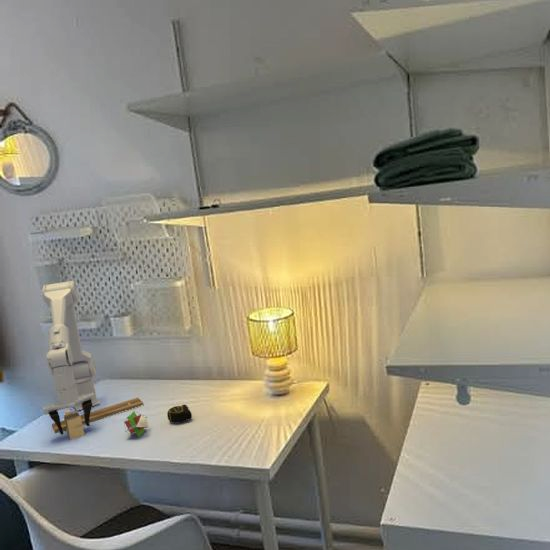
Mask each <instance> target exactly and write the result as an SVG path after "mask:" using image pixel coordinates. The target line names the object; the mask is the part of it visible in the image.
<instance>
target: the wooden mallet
mask: <svg viewBox="0 0 550 550" xmlns="http://www.w3.org/2000/svg"><path fill="white" fill-rule="evenodd" d="M80 415H81V414H80V413H79V412H78V411H77V410H74V411H72V412H71V410H70V409H67V410H64V414H63V415H62V416H63V420H65V425H66V430H65V431H66V433H67V435H68V437H69V439H70V440H75V439H78V438H81V437H84V436H85V430H84V424H83V425H82V421H81V417H80Z"/></svg>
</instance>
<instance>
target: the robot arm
mask: <svg viewBox="0 0 550 550" xmlns="http://www.w3.org/2000/svg"><path fill="white" fill-rule="evenodd" d="M41 293H42V298H43V300H44V303H45V304H46V305H47V307H48V308H50V312H51V320H52V327H51V328H50V329H49V331H48V340H49V341H48V342H49V344H48V350H49V351H46V363H47V366H48V368H49V371H50V374H51V376H52V378H53V382H54V387H55V391H56V396H57V401H56V402H54V403H51V404H49V405H45V406H43V407H42V409H43V413H44V415H45V416H47V415H49V418H50V419H51V420H52V421H53V423H56V425H57V427H58V429H59V431H60V432H59V434H60V435H61V436H62V435H64V431H63V430H62V427H61V423H60V421H61V417H60V414H59V411H61V410H64V409H68V408H71V407H73V408H74V409H75V411H77V412H78V411H81V410H82V412H83V414H84V418H85V423H86V424H85V425H86V427H90V422H89V418H90V412H92V408H93V407H95V406H98V405H101V401H100V400H99V399H98V397H97V394H96V388H95V384H94V379H93V378H94V377H95V376H96V373H97V370H96V363H95V360H94V358H93V355H92V353H90V352H87V351H85V350H83V347H82V341H81V338H80V337H81V336H80V332H79V331H80V330H79V328H78V327H79V326H78V322H77V318H76V311H75V305H76V304H78V303H79V300H80V298H79V294H78V289H77V284H76V282H75V281H74V280H72V279H71V280H69V281H64V282H56V283H51V284H44V285H43V286H42V289H41Z"/></svg>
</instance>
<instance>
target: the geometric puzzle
mask: <svg viewBox="0 0 550 550" xmlns="http://www.w3.org/2000/svg"><path fill="white" fill-rule="evenodd" d="M148 422H149V421H148V419H147V416H146V417H145V415H144V414H142V413H140V412H138V414H136V411H135V410H134V411H133V412H132V413H130V414H129V416H126V418H125V420H124V422H123V423H124V425H125V427H126V428H127V429H126V428H124V432H125V433H127V432H128V431H129V434H130V435H133V436H135V437H136V438H139V437H140V436H141V435H143V433H145V432H146V430H147V429H148V427H149V423H148ZM135 434H136V435H135Z"/></svg>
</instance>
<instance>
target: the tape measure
mask: <svg viewBox="0 0 550 550" xmlns="http://www.w3.org/2000/svg"><path fill="white" fill-rule="evenodd" d="M166 414H167V420H168V421H169V422H170V423H173V424H180V423H183V422H187V421H188V420H191V419H192V418H193V415H192V411H191V410H190V409H189V406H188V405H186V404H182V405H176V406H173V407H170V408H169V409H168V410H167V413H166Z"/></svg>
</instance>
